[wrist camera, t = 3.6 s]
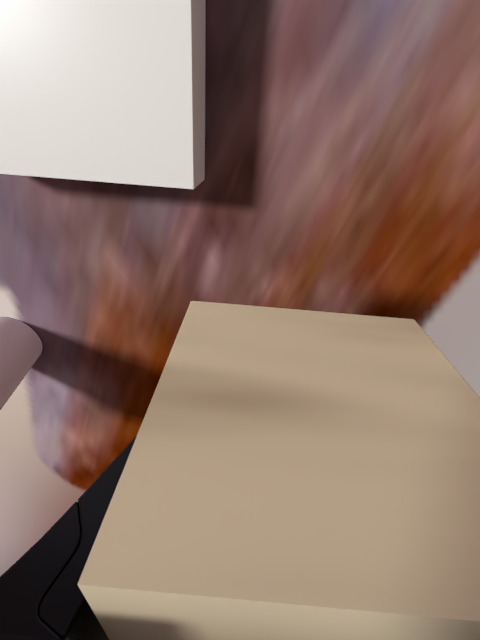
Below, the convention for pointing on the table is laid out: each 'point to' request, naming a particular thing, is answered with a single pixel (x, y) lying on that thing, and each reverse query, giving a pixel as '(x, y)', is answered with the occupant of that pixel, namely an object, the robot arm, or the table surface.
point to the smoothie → (16, 354)
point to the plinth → (103, 90)
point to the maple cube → (296, 487)
